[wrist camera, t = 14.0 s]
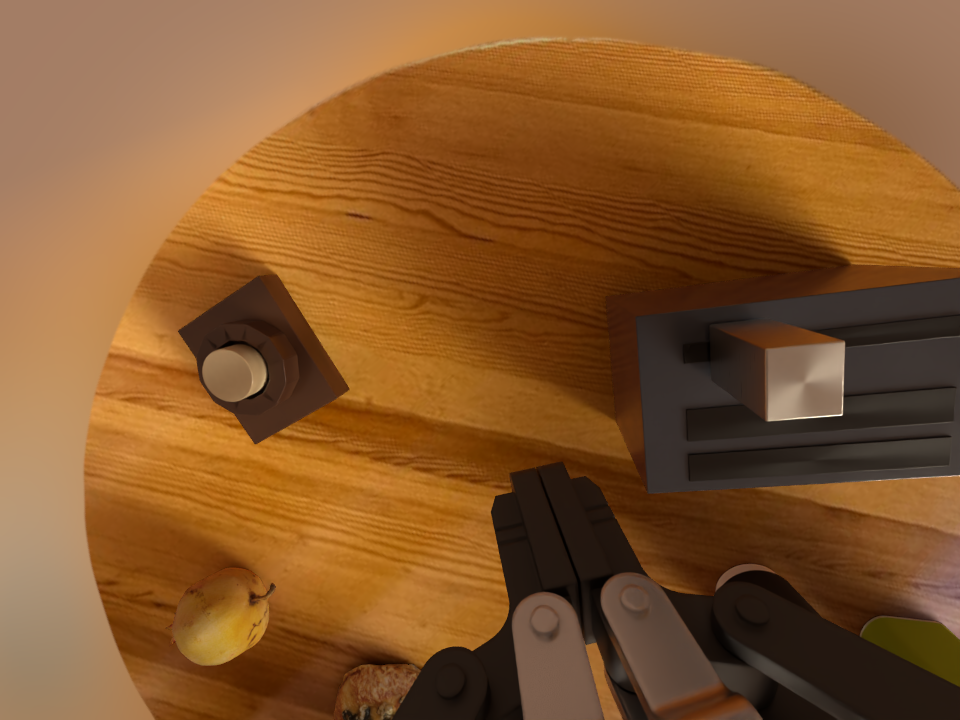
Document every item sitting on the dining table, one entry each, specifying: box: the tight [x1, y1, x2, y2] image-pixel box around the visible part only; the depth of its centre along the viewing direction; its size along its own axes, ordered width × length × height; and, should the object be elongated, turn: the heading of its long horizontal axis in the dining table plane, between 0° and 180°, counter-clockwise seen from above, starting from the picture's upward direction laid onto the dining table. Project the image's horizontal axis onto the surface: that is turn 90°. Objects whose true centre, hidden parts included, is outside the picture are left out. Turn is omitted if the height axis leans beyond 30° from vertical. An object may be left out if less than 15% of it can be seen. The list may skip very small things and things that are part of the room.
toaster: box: [606, 264, 960, 494], centre depth 25 cm, size 15×9×10 cm, turn 98°
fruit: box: [165, 567, 276, 666], centre depth 37 cm, size 7×7×10 cm
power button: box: [202, 344, 268, 402], centre depth 30 cm, size 4×4×2 cm
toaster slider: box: [709, 318, 845, 421], centre depth 17 cm, size 2×3×5 cm
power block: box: [178, 275, 349, 444], centre depth 32 cm, size 10×8×4 cm
